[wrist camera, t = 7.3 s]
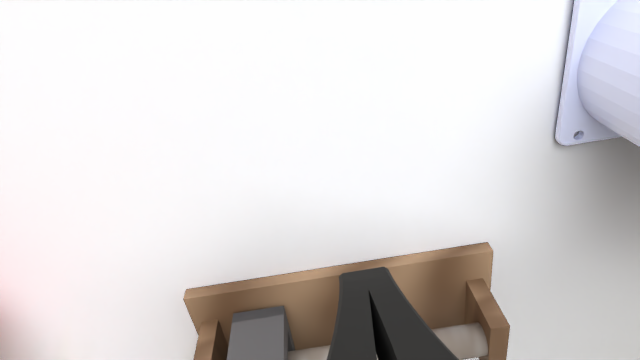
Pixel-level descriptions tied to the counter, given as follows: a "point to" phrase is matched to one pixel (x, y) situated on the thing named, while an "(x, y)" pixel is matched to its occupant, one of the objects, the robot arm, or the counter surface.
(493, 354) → the towel rail
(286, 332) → the collar
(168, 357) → the counter surface
